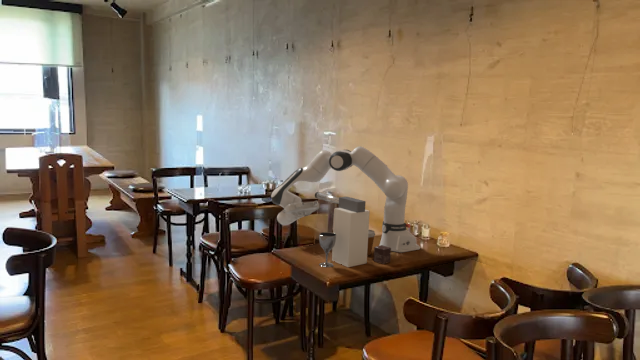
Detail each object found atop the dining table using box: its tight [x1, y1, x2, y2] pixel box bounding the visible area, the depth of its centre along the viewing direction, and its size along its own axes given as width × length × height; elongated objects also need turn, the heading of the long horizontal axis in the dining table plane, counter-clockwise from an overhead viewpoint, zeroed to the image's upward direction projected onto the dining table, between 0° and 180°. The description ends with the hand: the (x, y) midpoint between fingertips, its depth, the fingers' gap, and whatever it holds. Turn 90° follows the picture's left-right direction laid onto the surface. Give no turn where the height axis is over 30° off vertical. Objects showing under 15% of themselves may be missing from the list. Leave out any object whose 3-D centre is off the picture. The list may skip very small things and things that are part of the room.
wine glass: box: [318, 231, 336, 268], centre depth 235 cm, size 8×8×15 cm
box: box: [373, 244, 392, 265], centre depth 244 cm, size 6×6×7 cm
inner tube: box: [314, 191, 340, 205], centre depth 250 cm, size 23×3×3 cm, turn 38°
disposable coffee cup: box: [367, 229, 376, 256], centre depth 256 cm, size 10×10×12 cm
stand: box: [331, 196, 370, 268], centre depth 240 cm, size 14×12×31 cm
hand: (309, 202), depth 265 cm, fingers open, 8 cm apart
